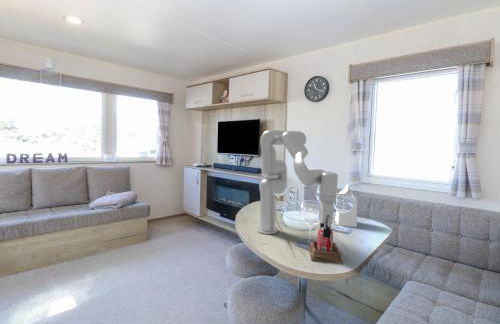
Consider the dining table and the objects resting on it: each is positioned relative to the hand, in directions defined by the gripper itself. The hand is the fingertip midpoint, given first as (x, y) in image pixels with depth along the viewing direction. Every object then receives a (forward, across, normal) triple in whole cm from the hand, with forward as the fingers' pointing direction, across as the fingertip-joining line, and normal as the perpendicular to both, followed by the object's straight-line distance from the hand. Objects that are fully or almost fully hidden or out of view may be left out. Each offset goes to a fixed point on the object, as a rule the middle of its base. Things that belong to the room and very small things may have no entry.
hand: (324, 233), depth 124 cm
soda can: (+10, 0, 0) cm, 10 cm away
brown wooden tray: (+11, +1, +1) cm, 11 cm away
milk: (+11, -53, +22) cm, 58 cm away
